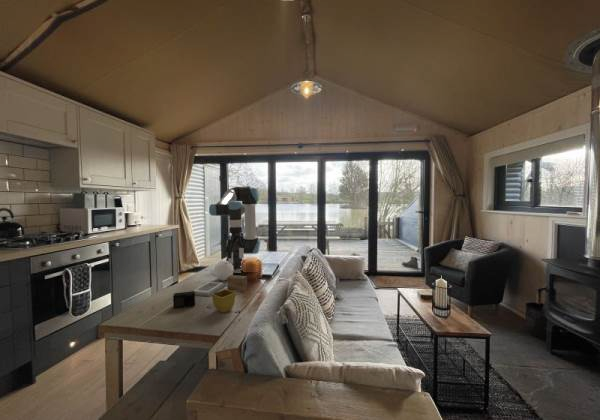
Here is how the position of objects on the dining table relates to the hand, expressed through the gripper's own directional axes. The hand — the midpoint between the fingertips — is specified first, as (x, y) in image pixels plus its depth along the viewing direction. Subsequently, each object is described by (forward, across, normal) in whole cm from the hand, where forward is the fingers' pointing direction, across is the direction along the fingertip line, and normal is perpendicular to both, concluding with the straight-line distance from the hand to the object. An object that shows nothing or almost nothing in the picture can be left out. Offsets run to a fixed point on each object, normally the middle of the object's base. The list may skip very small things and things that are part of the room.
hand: (236, 260), depth 169 cm
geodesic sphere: (+18, -15, -18) cm, 30 cm away
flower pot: (+18, +29, +8) cm, 35 cm away
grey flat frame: (+18, +5, -17) cm, 25 cm away
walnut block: (+18, 0, 0) cm, 18 cm away
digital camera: (+18, +30, -15) cm, 38 cm away
